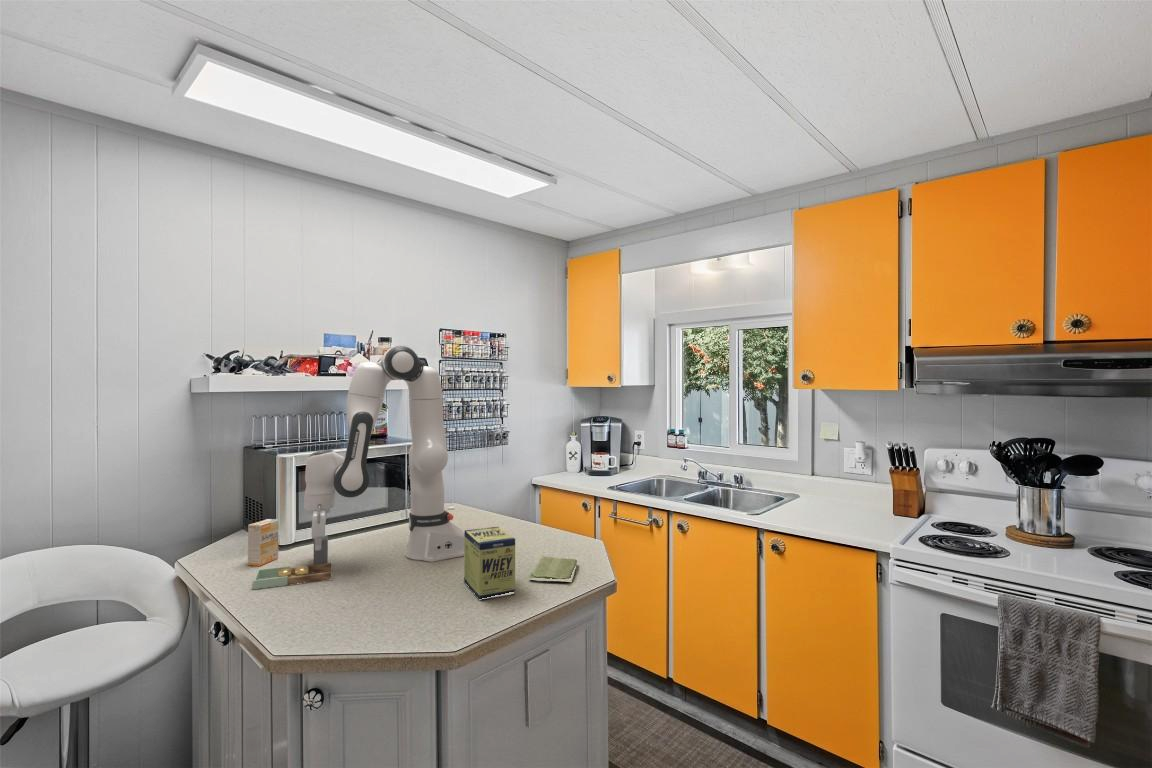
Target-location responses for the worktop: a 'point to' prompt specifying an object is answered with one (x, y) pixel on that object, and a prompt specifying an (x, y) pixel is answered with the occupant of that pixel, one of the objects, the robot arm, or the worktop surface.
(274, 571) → the chip tray
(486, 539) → the protein box
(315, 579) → the slot rails
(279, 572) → the puck
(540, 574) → the washcloth
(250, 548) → the supplement box
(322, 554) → the rake block
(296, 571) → the puck
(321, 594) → the worktop surface
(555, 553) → the worktop surface
